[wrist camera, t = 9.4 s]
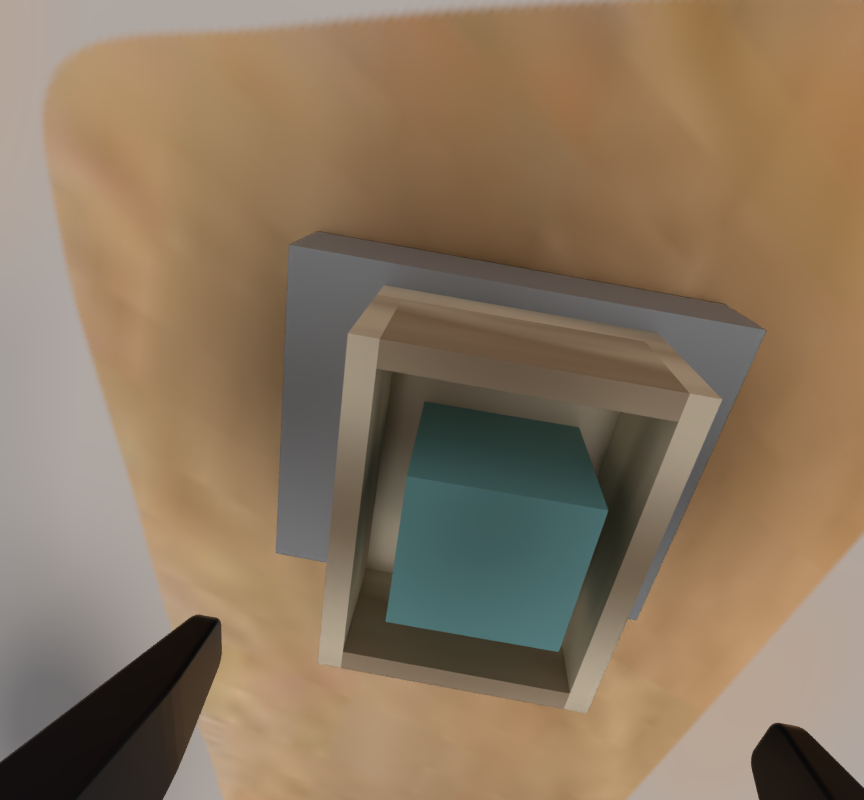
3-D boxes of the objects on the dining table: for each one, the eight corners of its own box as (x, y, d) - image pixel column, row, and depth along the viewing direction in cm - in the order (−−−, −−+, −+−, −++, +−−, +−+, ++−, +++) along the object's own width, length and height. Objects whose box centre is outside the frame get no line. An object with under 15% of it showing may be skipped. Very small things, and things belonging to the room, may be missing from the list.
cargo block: (542, 548, 15) (558, 652, 12) (405, 525, 15) (385, 621, 12) (579, 427, 14) (608, 510, 10) (424, 401, 14) (407, 476, 11)
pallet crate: (565, 595, 17) (586, 713, 14) (352, 557, 17) (317, 663, 14) (657, 333, 13) (722, 398, 10) (384, 285, 14) (347, 333, 10)
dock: (618, 566, 20) (636, 620, 17) (299, 507, 20) (275, 553, 18) (725, 304, 15) (766, 330, 13) (317, 231, 16) (289, 244, 13)
